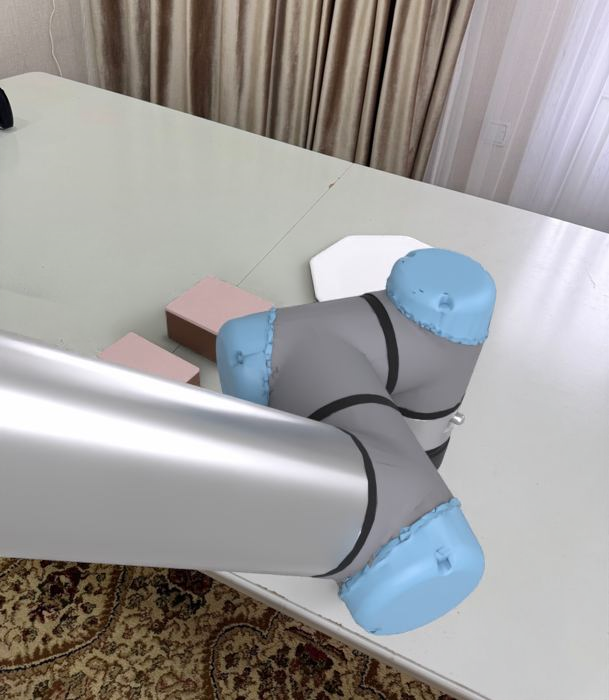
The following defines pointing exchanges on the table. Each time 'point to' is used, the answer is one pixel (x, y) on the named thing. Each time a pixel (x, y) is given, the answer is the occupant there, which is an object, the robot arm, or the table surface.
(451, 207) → the table surface
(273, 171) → the table surface
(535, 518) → the table surface
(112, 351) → the cake slice
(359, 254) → the plate
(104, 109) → the table surface
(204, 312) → the cake
